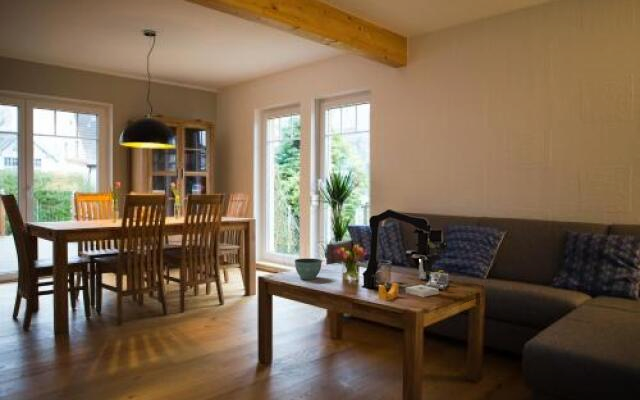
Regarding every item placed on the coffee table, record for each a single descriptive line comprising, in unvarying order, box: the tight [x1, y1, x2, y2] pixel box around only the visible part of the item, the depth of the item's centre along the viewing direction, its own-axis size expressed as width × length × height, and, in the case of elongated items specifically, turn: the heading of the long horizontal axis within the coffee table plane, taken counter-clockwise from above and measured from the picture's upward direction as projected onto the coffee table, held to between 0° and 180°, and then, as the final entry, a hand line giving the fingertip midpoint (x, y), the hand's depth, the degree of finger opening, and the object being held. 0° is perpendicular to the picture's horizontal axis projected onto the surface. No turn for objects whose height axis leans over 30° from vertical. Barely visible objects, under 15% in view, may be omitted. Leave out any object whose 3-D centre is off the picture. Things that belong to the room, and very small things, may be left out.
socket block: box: [385, 280, 419, 292], centre depth 259 cm, size 12×12×2 cm
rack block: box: [405, 284, 439, 298], centre depth 248 cm, size 12×12×2 cm
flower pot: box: [294, 258, 323, 281], centre depth 280 cm, size 16×16×11 cm
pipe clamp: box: [378, 283, 399, 302], centre depth 236 cm, size 12×4×6 cm, turn 132°
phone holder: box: [422, 272, 451, 291], centre depth 262 cm, size 18×10×12 cm
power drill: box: [418, 237, 450, 282], centre depth 281 cm, size 9×17×25 cm, turn 68°
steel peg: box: [418, 258, 426, 280], centre depth 248 cm, size 4×4×10 cm
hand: (422, 271), depth 248 cm, fingers closed on steel peg, 4 cm apart
